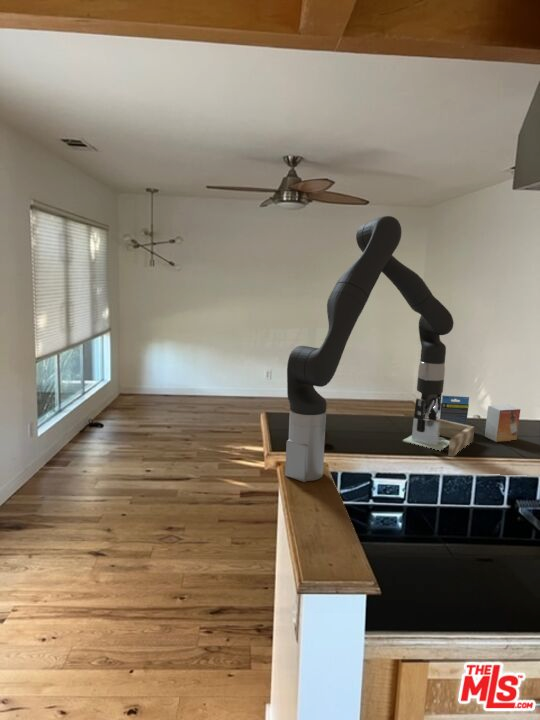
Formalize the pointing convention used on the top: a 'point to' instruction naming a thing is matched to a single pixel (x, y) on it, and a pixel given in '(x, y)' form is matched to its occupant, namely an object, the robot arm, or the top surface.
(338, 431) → the top surface
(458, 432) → the corner walls
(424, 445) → the pad
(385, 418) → the top surface
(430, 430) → the angle bracket
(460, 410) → the label tape box
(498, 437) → the small box
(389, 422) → the top surface
